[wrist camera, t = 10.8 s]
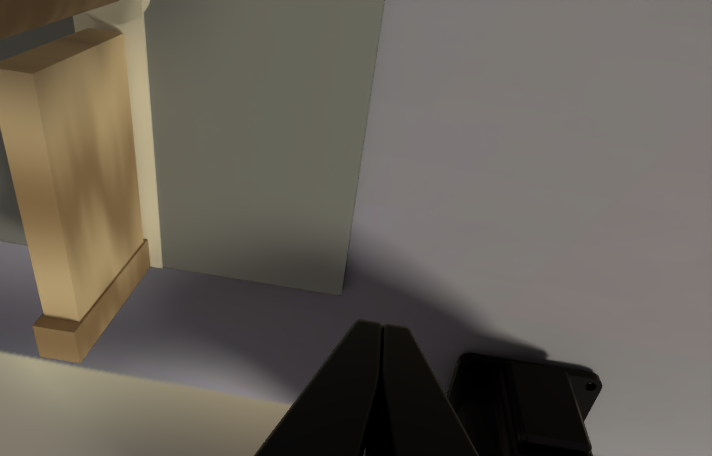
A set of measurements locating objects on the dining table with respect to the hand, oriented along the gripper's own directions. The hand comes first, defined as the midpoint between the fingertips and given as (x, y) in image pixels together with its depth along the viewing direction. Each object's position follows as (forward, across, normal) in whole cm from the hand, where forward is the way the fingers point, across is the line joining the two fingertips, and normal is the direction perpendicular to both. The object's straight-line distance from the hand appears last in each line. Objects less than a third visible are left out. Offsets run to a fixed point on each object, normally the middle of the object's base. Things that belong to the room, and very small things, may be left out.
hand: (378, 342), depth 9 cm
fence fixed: (+12, +10, +2) cm, 16 cm away
